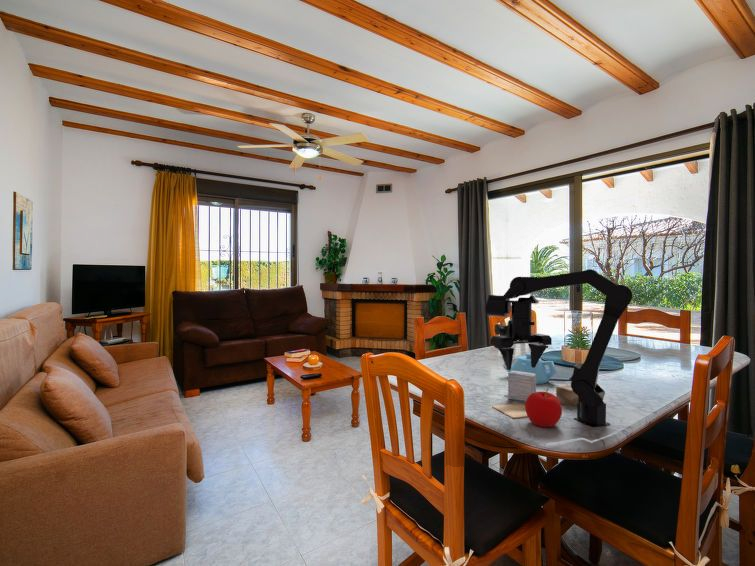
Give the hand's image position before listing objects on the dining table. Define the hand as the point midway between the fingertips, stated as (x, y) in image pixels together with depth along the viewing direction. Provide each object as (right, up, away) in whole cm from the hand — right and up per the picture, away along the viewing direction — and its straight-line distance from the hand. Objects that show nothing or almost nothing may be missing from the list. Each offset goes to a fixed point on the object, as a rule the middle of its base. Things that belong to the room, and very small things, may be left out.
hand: (521, 368), depth 113 cm
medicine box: (+3, -12, +7) cm, 14 cm away
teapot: (+15, -12, +30) cm, 36 cm away
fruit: (+1, -12, -13) cm, 18 cm away
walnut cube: (+17, -12, +4) cm, 21 cm away
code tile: (+3, -12, +7) cm, 14 cm away
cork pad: (-2, -12, -3) cm, 13 cm away
